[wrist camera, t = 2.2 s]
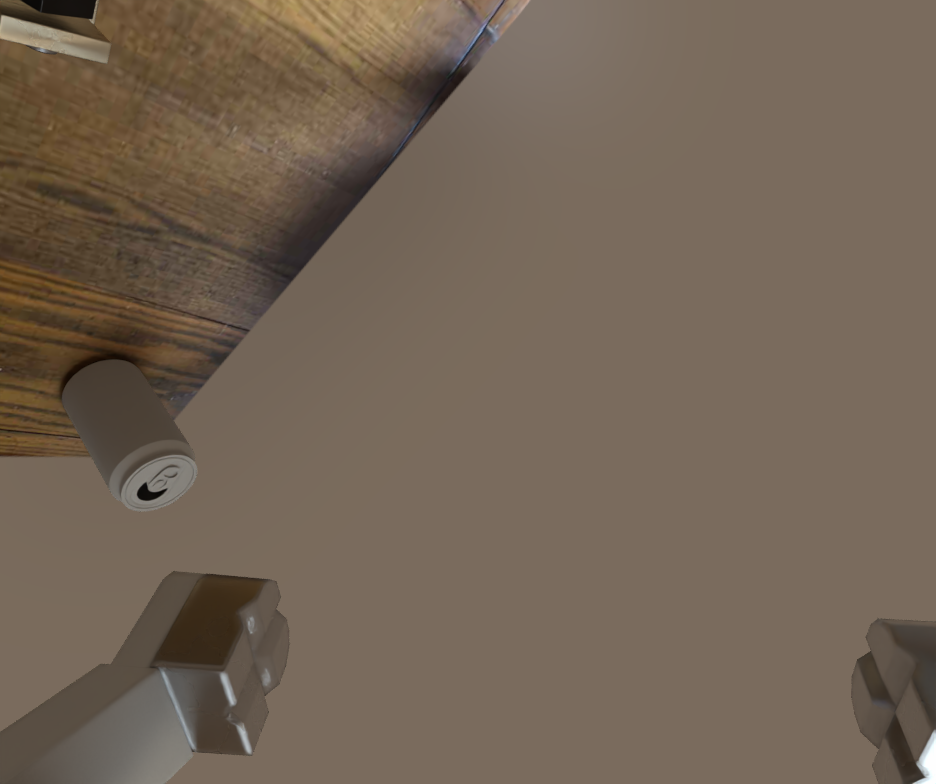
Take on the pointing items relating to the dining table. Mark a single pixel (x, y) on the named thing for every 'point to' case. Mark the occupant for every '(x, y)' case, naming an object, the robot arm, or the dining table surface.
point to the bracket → (53, 32)
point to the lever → (64, 7)
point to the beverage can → (129, 435)
